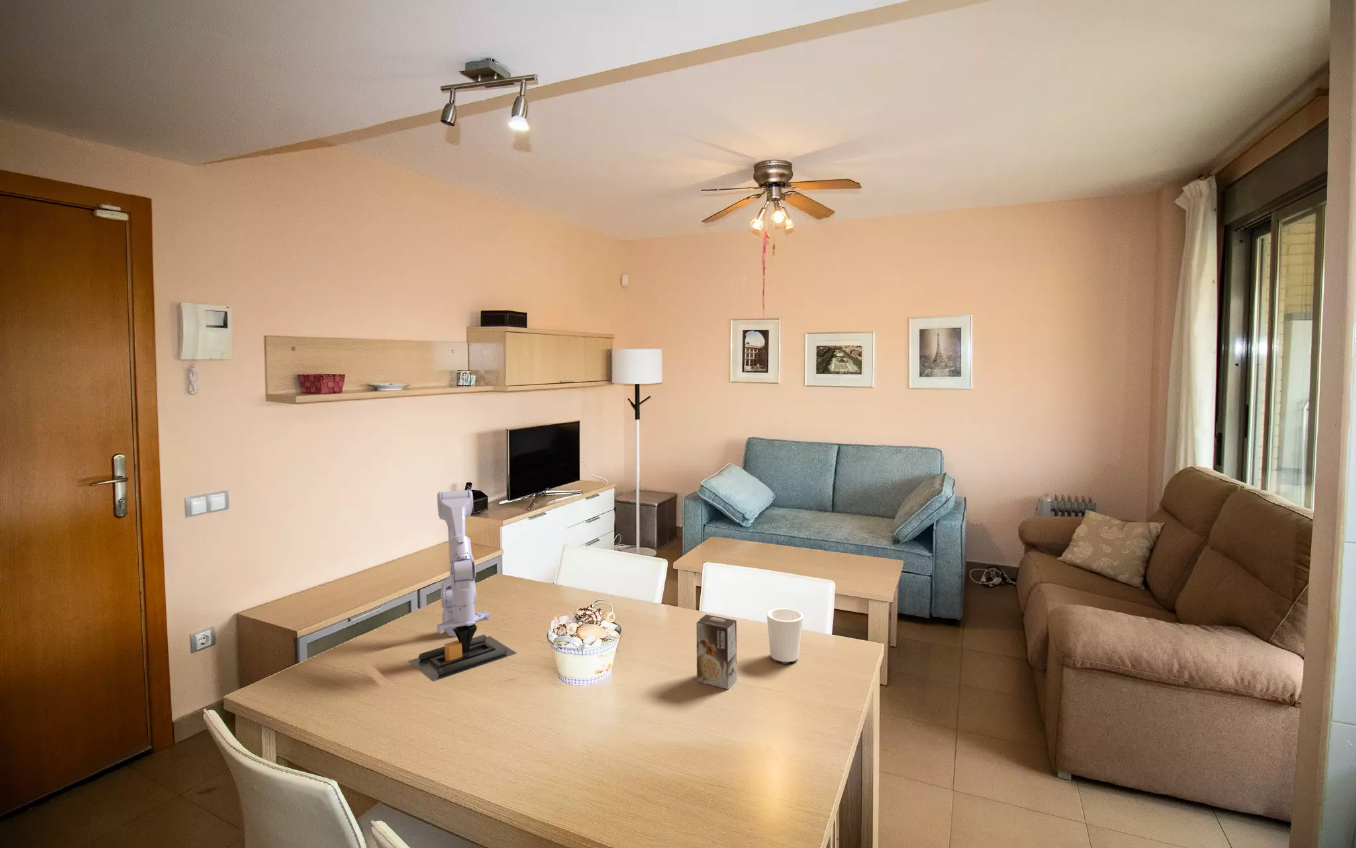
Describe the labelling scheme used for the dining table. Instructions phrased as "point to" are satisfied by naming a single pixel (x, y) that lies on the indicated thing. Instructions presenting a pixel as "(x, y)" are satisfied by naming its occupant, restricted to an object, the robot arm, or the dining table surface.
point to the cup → (784, 634)
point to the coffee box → (716, 651)
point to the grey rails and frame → (466, 662)
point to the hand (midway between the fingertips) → (465, 651)
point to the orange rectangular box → (453, 650)
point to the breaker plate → (460, 659)
